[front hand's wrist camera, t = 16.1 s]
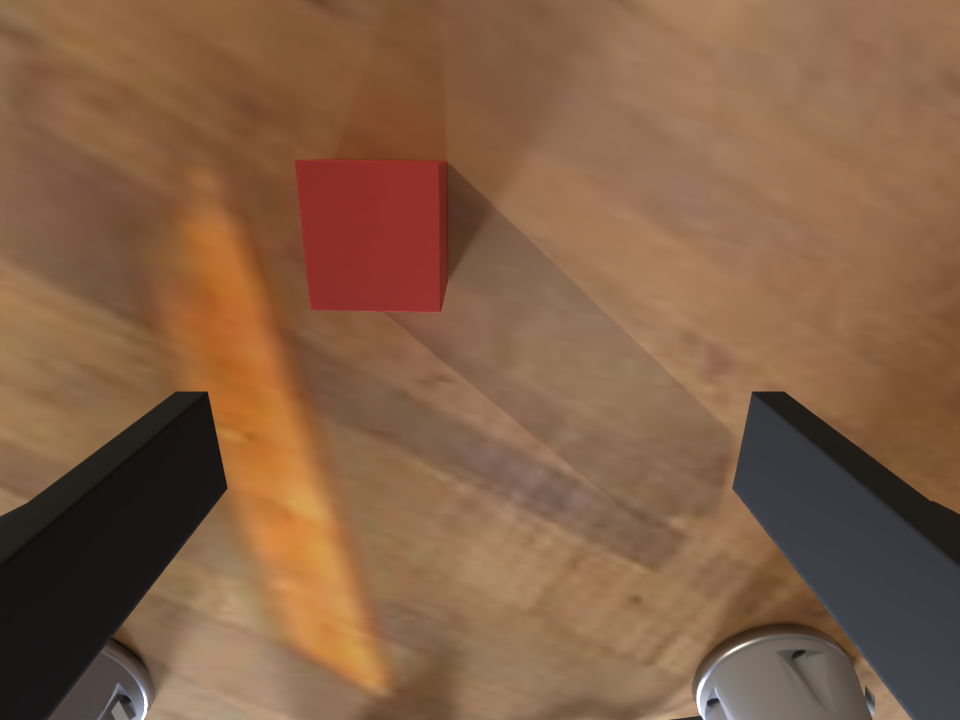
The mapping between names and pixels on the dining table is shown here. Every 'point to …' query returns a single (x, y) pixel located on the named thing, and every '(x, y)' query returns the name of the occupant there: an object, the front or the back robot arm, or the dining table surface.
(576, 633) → the dining table surface
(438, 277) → the cube
